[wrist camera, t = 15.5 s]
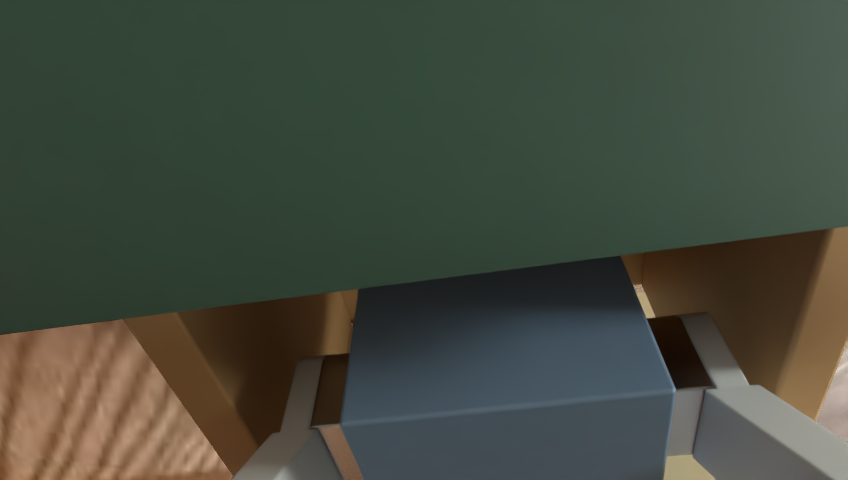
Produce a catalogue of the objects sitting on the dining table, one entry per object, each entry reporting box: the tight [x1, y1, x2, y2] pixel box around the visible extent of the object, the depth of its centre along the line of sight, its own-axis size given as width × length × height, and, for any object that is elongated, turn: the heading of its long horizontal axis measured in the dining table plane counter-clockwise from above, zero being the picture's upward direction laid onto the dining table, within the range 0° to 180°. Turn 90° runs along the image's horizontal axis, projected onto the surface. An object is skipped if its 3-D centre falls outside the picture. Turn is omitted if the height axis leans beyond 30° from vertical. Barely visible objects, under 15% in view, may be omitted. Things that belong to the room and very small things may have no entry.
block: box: [339, 256, 676, 480], centre depth 10 cm, size 4×4×4 cm
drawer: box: [123, 227, 848, 480], centre depth 13 cm, size 18×11×8 cm, turn 10°
